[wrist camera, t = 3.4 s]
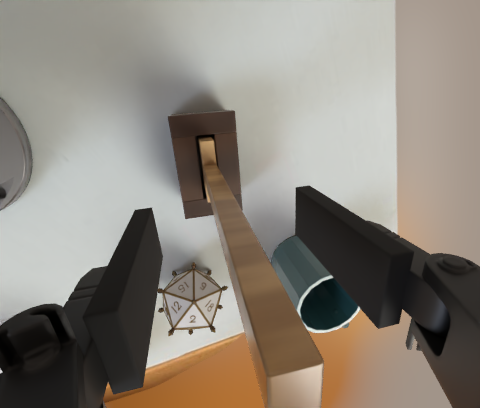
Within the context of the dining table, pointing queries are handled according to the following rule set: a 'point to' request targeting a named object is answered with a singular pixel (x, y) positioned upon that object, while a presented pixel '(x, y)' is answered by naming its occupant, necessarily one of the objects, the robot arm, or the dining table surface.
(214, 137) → the spatula holder
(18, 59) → the dining table surface
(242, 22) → the dining table surface
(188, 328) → the twenty-sided die
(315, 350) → the spatula
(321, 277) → the mug
